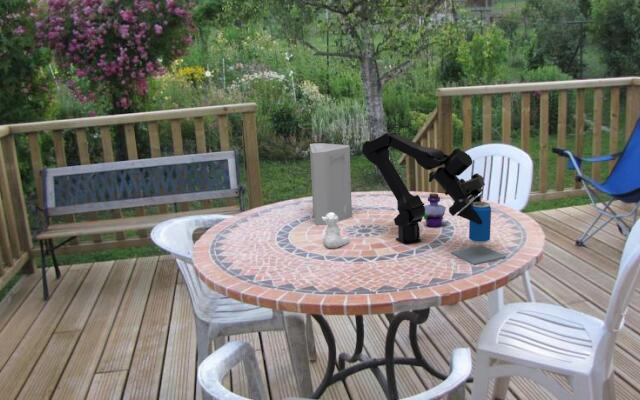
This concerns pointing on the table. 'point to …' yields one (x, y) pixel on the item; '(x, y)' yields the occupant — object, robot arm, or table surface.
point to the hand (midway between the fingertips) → (484, 220)
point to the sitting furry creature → (333, 232)
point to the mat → (478, 255)
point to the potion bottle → (434, 212)
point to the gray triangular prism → (330, 181)
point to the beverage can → (481, 231)
